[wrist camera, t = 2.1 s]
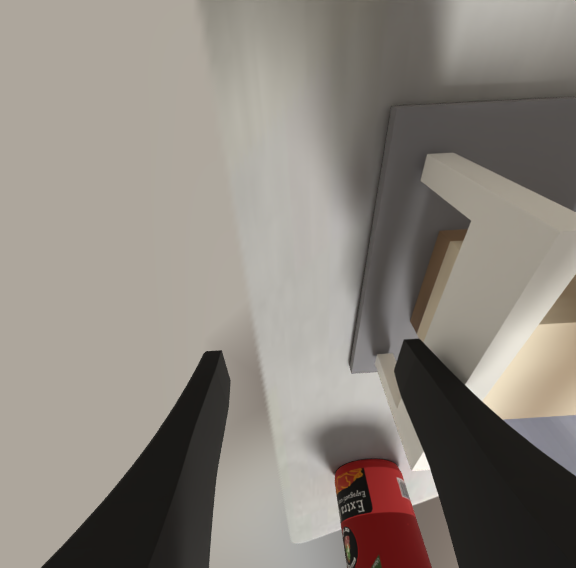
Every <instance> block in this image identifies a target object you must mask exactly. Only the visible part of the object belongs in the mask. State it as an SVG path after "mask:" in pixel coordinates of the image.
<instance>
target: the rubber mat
mask: <svg viewBox="0 0 576 568" xmlns="http://www.w3.org/2000/svg"><path fill="white" fill-rule="evenodd" d="M436 153H455V154H457V155H459V156H461V157H463V158H466V159H468V160H470V161H472V162H474V163H476V164H478V165H480V166H482V167H484V168H486V169H488V170H490V171H492V172H494V173H496V174H498V175H500V176H502V177H504V178H506V179H508V180H511V181H513V182H515V183H517V184H519V185H521V186H523V187H525V188H527V189H529V190H531V191H533V192H535V193H537V194H539V195H541V196H543V197H545V198H547V199H549V200H551V201H554V202H556V203H558V204H560V205H562V206H564V207H566V208H568V209H570V210H572V211H574V212H576V97H559V98H539V99H520V100H501V101H481V102H462V103H442V104H423V105H403V106H391V111H390V117H389V124H388V130H387V136H386V142H385V149H384V155H383V161H382V167H381V174H380V180H379V186H378V192H377V199H376V205H375V211H374V217H373V224H372V230H371V236H370V242H369V249H368V255H367V261H366V267H365V274H364V280H363V286H362V292H361V299H360V305H359V311H358V317H357V324H356V330H355V336H354V342H353V349H352V355H351V361H350V370H351V374H354V373H370V372H378V371H377V369H376V366H375V361H376V357H377V354H389V353H393V355H394V358H395V360H396V362H397V359H398V356H399V353H400V350H401V347H402V343H403V340H404V339H419V337H418V336H417V334H416V332H415V330H414V328H413V326H412V324H411V322H410V320H411V317H412V313H413V310H414V307H415V304H416V301H417V298H418V295H419V292H420V289H421V286H422V283H423V280H424V277H425V274H426V270H427V267H428V264H429V261H430V258H431V255H432V252H433V249H434V246H435V243H436V240H437V237H438V234H439V231H444V230H461V229H468V228H469V225H470V223H471V220H470V219H468V218H467V217H466V216H465V215H463V214H462V213H461V212H460V211H458V210H457V209H456V208H454V207H453V206H452V205H451V204H449V203H448V202H447V201H446V200H444V199H443V198H442V197H440V196H439V195H438V194H437V193H435V192H434V191H433V190H432V189H430V188H429V187H428V186H427V185H425V184H424V183H423V182H421V177H422V173H423V169H424V165H425V161H426V157H427V154H436Z"/></svg>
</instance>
